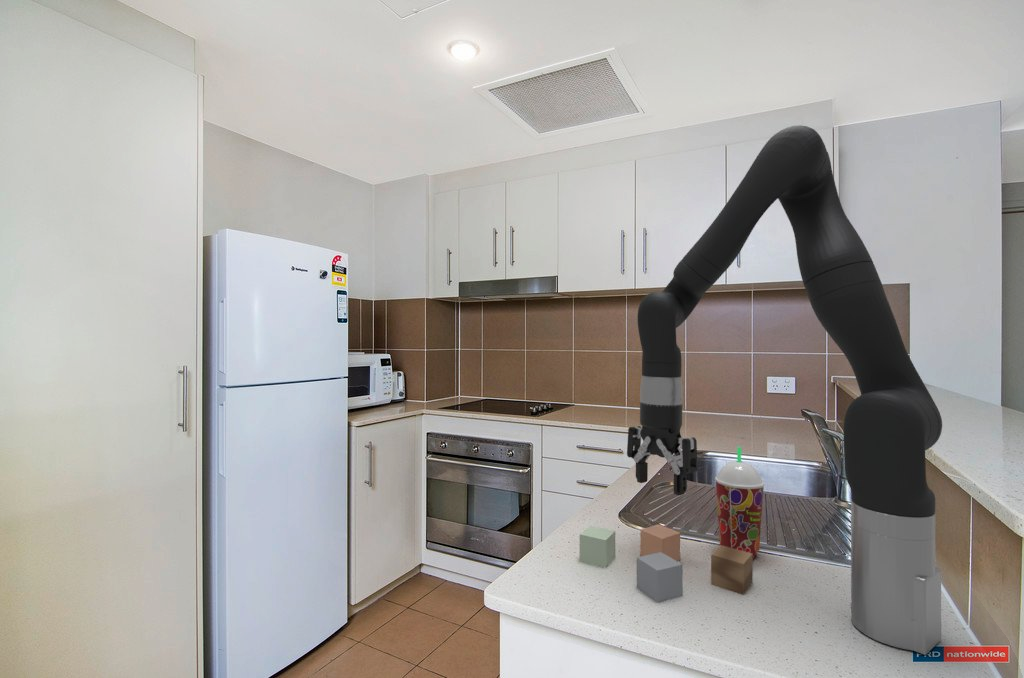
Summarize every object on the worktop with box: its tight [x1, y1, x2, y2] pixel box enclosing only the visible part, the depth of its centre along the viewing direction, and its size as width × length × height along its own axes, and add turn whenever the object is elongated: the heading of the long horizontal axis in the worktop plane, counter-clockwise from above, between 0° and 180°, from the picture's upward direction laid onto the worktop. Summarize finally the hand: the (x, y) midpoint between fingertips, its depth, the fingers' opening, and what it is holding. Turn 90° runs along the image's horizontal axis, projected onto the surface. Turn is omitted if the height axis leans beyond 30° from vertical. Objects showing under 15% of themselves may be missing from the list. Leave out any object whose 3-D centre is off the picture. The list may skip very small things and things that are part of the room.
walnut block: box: [710, 545, 754, 596], centre depth 81 cm, size 5×5×5 cm
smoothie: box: [714, 446, 765, 559], centre depth 93 cm, size 8×8×20 cm
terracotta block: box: [639, 523, 681, 562], centre depth 91 cm, size 5×5×5 cm
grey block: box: [636, 552, 684, 603], centre depth 79 cm, size 5×5×5 cm
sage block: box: [579, 525, 616, 569], centre depth 90 cm, size 5×5×5 cm
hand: (659, 488), depth 91 cm, fingers open, 8 cm apart
